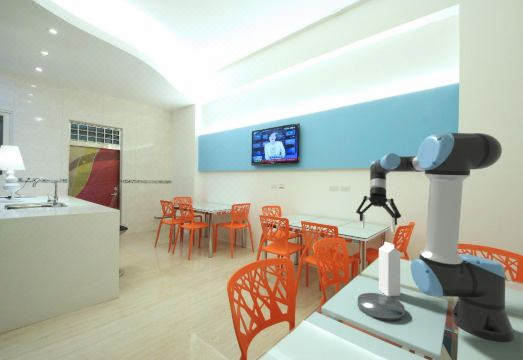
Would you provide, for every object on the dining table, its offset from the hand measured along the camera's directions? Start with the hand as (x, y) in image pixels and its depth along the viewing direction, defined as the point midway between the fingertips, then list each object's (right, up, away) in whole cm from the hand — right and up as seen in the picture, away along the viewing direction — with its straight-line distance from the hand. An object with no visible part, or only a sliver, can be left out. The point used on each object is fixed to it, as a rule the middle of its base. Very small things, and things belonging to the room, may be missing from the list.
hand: (377, 229), depth 114 cm
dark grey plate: (-11, -25, -24) cm, 37 cm away
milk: (0, -26, -11) cm, 28 cm away
